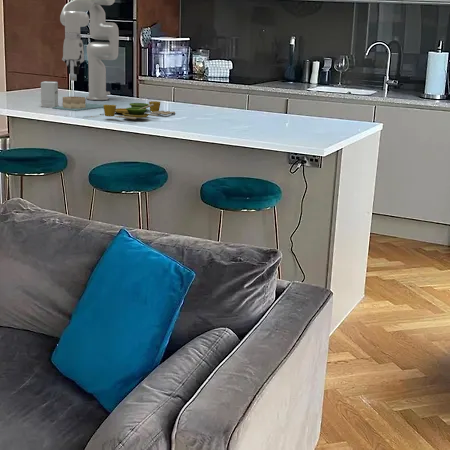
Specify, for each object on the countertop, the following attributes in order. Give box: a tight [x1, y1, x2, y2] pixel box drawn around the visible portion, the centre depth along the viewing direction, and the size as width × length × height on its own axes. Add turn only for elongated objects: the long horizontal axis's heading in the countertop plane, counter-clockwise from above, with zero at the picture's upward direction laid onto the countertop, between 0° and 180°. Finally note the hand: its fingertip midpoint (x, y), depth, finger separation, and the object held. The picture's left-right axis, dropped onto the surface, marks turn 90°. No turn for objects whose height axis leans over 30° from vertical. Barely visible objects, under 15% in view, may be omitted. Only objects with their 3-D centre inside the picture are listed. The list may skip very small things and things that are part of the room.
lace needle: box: [69, 59, 78, 82], centre depth 370 cm, size 3×3×12 cm
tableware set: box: [102, 100, 176, 120], centre depth 366 cm, size 41×28×6 cm
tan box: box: [62, 96, 87, 109], centre depth 375 cm, size 11×11×5 cm
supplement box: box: [40, 81, 59, 108], centre depth 380 cm, size 7×7×13 cm
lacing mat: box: [51, 102, 104, 112], centre depth 382 cm, size 30×15×1 cm, turn 153°
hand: (73, 73), depth 371 cm, fingers closed on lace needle, 3 cm apart
